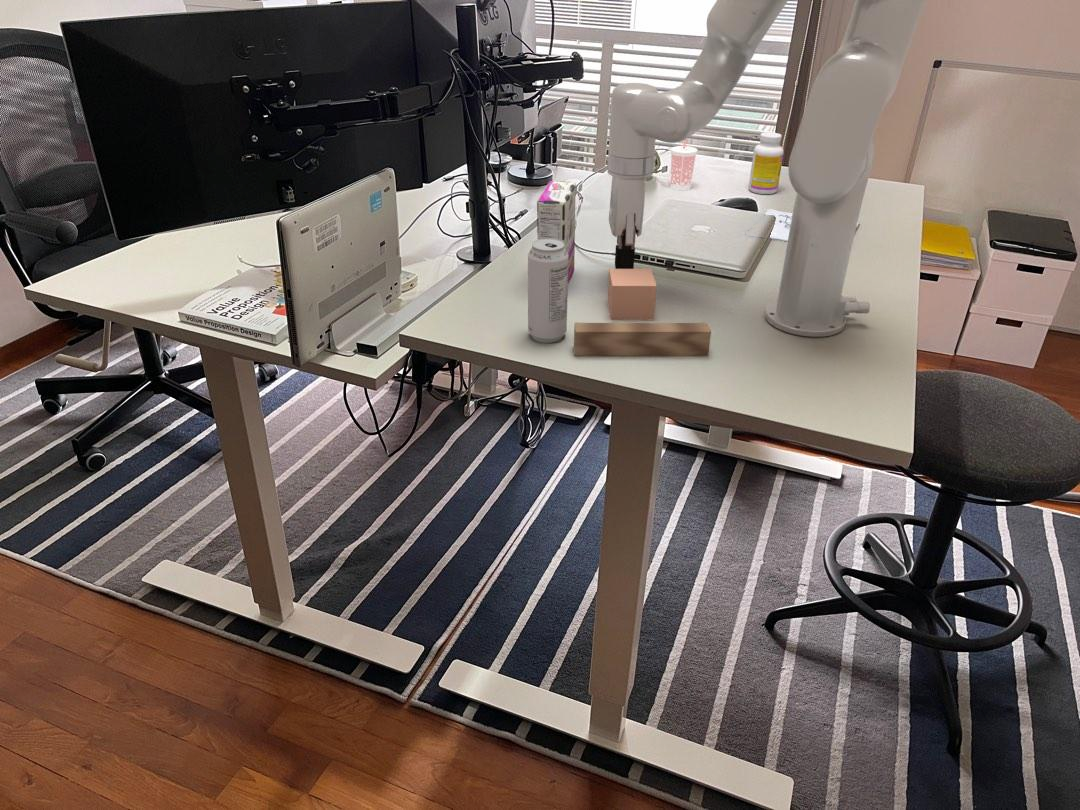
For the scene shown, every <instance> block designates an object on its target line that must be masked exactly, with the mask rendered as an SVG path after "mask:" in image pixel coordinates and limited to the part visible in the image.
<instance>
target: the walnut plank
mask: <svg viewBox="0 0 1080 810" xmlns="http://www.w3.org/2000/svg"><path fill="white" fill-rule="evenodd" d="M573 325H574V326H573V327H574V329H573V330H574V331H573V351H574V357H579V356H580V357H584V356H585V357H586V356H589V357H590V356H591V357H592V356H593V357H597V356H598V357H613V356H614V357H617V356H618V357H622V356H623V357H624V356H625V357H626V356H630V357H632V356H633V357H635V356H636V357H637V356H638V357H642V356H643V357H645V356H647V357H650V356H651V357H653V356H654V357H657V356H659V357H661V356H662V357H669V356H671V357H673V356H675V357H677V356H679V357H680V356H681V357H682V356H683V357H687V356H688V357H689V356H690V357H697V356H699V357H700V356H701V357H702V356H703V357H704V356H705V357H707V356H709V351H710V344H711V335H712V331H711V328H710V326H709V323H708V322H574V324H573Z"/></svg>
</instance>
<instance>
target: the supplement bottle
mask: <svg viewBox="0 0 1080 810" xmlns="http://www.w3.org/2000/svg"><path fill="white" fill-rule="evenodd" d="M759 136H760V137H759V141H760V143H759V144H756V146H755V147H754V148H753V152H752V161H751V169H750V175H749V176H750V177H749V183H748V189H749V191H750V192H752V193H755V194H759V195H772V194H775V193H777V192H778V189H779V183H780V178H781V171H782V163H783V157H784V152H785V151H784V149H783V147H782V146H781V145H780V143H781V141H782V136H783V135H782V134H781V133H779V132H778V133H776V132H772V131H768V132H767V131H766V132H761V133H760V135H759Z"/></svg>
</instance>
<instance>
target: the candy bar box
mask: <svg viewBox="0 0 1080 810" xmlns="http://www.w3.org/2000/svg"><path fill="white" fill-rule="evenodd" d="M576 185H577V182H572V181H562V180H561V181H557V180H551V181H549V182H548V183H547V185H546V187H545V188H544V190H543V192H542V193H541V195H540V196H539V198H538V199H537V201H536V211H537V212H536V213H537V214H536V215H537V217H536V219H537V220H536V221H537V222H536V223H537V224H536V225H537V228H536V230H537V231H536V232H537V233H536V234H537V235H536V236H537V239H536V240H538V239H545V238H551V239H558V240H561V241H563V242H564V244H565V249H566V251H567V253H568V255H569V259H568V284H569V282H570V280H571V278H572V275H573V274H574V272H575V252H576V250H575V249H576V247H575V246H576V245H575V242H576V237H575V236H576V195H577V194H576V192H577V191H576Z"/></svg>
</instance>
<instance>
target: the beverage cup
mask: <svg viewBox="0 0 1080 810" xmlns="http://www.w3.org/2000/svg"><path fill="white" fill-rule="evenodd" d="M686 144H687V139H685V140H683V143H682V145H678V146H677V145H676V146H672V147H671V148H670V154H671V157H670V158H671V161H670V189H671V190H673V191H676V192H686V191H689V190H691V185H692V180H693V172H694V168H695V167H694V166H695V160H696V156H697V155H698V148H696V147H694V146H688V145H687V146H686Z"/></svg>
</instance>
